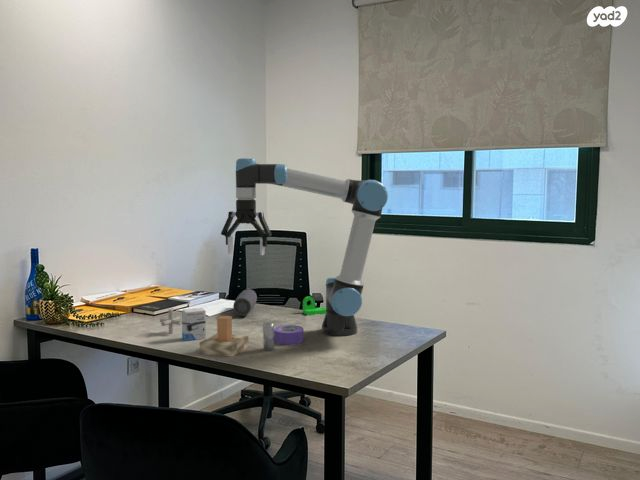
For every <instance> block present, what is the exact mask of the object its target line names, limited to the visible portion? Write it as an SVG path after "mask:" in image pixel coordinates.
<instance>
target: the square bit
mask: <svg viewBox="0 0 640 480" xmlns="http://www.w3.org/2000/svg"><path fill="white" fill-rule="evenodd" d="M216 320H217V321H216V327H217V328H216V329H217V330H216V331H217V333H216V334H217V341H223V342H229V341H231V340H232V335H233V317H232V316H230V315H221V316H218V317H217V318H216Z"/></svg>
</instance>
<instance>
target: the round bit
mask: <svg viewBox="0 0 640 480" xmlns="http://www.w3.org/2000/svg"><path fill="white" fill-rule="evenodd" d="M274 328H275V326H274V322H273V321H264V322H262V335H263V336H262V339H263V342H262V344H263V345H262V346H263V351H265V352H266V351H267V352H269V351H270V352H271V351H274V350H275V342H274Z"/></svg>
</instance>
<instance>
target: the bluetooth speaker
mask: <svg viewBox="0 0 640 480" xmlns="http://www.w3.org/2000/svg"><path fill="white" fill-rule="evenodd" d="M257 300H258V296H257V293H256V291H255V290H253V289H251V288H247V289H244V290H242V292H240V293H239V294H238V296H237V297H236V298H235V300H234V302H233V306H232V308H233V310H234V311H233V312H234V313H236V315H238V316H247V315H249V313H250V312H252V310H253V309H254V307H255V306H256V303H257Z"/></svg>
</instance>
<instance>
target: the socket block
mask: <svg viewBox="0 0 640 480" xmlns="http://www.w3.org/2000/svg"><path fill="white" fill-rule="evenodd" d="M248 347H249V335H241V334H232V340H231V341H229V342H223V341H217V333H215V334H213V335H211V336H209V337H206V339H203V340H202V341H199V354H205V355H213V354H214V356H222V355H223V356H225V357H233V356H235V355H237V354H238V352H239V353H241V352H242V351H244V350H245V349H247V348H248Z"/></svg>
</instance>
